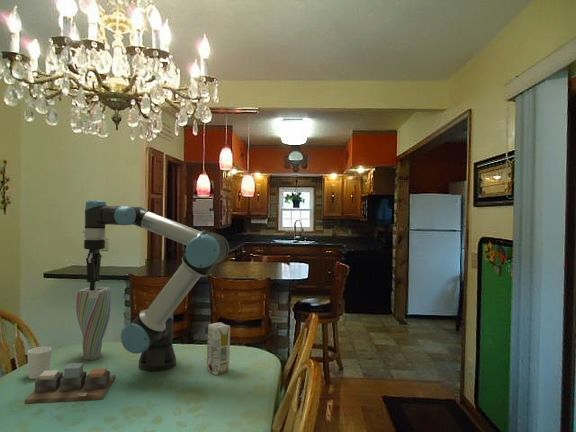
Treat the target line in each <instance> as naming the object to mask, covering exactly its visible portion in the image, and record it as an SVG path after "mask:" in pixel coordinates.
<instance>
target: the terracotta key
mask: <svg viewBox="0 0 576 432" xmlns="http://www.w3.org/2000/svg"><path fill="white" fill-rule="evenodd" d="M107 369H108V368H107V367H105V368H92V369H91V370H90V371H89V373H88V374H89V378H93V377H104V376H105V375H106V373H107V371H108V370H107Z"/></svg>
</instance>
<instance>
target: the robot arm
mask: <svg viewBox="0 0 576 432" xmlns="http://www.w3.org/2000/svg"><path fill="white" fill-rule="evenodd" d="M84 206H85V207H84V208H85V209H84V229H83V230H82V233H84V237H83V238H84V239H83V240H84V241H83V249H84V250H88V253H87V257H86V258H85V261H86V275H87V277H86V278H87V280H86V283H88V287H89V298H97V287H98V282H100V280H101V279H100V273H101V263H102V262H101V261H102V257H103V256H102V254H101V251H100V250H104V249H105V248H106V240H105V238H106V225H113V226H131V225H133V226H136V227H138V228H140V229H144V230H146V231H149V232H152V233H153V234H156V235H160V236H162V237H164V238H167V239H169V240H172V241H175V242H177V243H179V244H183V245H185V246H186V247H185V252H184V254H183V255H182V257H181V261H182V263H181V264H180V265H179V267H178V269H177V270H176V271H175V272H174V273H173V275H172V276H171V278H170V279H169V280H168V282H166V284H165V285H164V287H163V288H162V290H160V292H159V293H158V294H157V296H156V297H155V298H154V299H153V301H152V303H150V305H149V306H148V308H147V309H142V310H140V312H139V313H138V314H137V316H136V317H135V318H134V320H133V321H132V322H131V323H128V324H127V325H125V327H123V328H122V331H121V332H120V339H121V345H122V347H123V348H124V349H125V350H126V351H127V352H128V353H131V354H136V355H137V354H140V356H139V359H138V364H137V365H138V368H139V369H140V370H142V371H148V372H159V371H166V370H169V369H171V368H173V367H175V366H176V364H177V357H176V353H175V351H174V347H173V338H174V337H173V335H174V334H173V333H174V332H173V331H174V319H175V318H174V311H176V309H177V308H178V307H179V305H180V304H181V303H182V301H183V300H184V299H185V298H186V296H187V295H188V294H189V292H190V291H191V290H192V288H193V287H194V286H195V285H196V283H197V282H198V281H199V280H200V278H201V277H207V275H208V274H210V272H211V270H212V269H213V268H214V266H215V265H216V264H219V263H221V262H223V261H224V260H226V258H227V257H228V255H229V252H230V245H229V242H228V240H227V239H226V238H225V237H224V236H222V235H221V234H218V233H213V232H210V231H208V230H202V231H200V230H198V229H195V228H193V227H191V226H190V227H189V226H188V225H185V224H183V223H180V222H178V221H174V220H172V219H170V218H167V217H165V216H161V215H159V214H156V213H154V212H151V211H148V209H146V208H145V207H141V206H129V205H107V202H106V201H105V200H93V199H92V200H86V201H85V205H84Z"/></svg>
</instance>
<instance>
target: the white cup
mask: <svg viewBox="0 0 576 432" xmlns="http://www.w3.org/2000/svg"><path fill="white" fill-rule="evenodd" d="M51 358H52V347H50V346H39V347H38V346H37V347H33V348H31V349H28V350H27V371H28V378H29V379H30V380H36V379H37V378H38V377H39V376H40V375H41V374H42V373H43V372H44V371H50V367H51V362H52V361H51V360H52V359H51Z"/></svg>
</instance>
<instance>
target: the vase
mask: <svg viewBox="0 0 576 432" xmlns="http://www.w3.org/2000/svg"><path fill="white" fill-rule="evenodd" d="M111 310H112V289H111V288H110V287H103V286H102V287H101V286H100V287H99V286H97V298H89V286H88V287H85V288H82V289H79V290H78V291H76V298H75V312H76V313H75V314H76V318H77V322H78V325H79V328H80V332H81V334H82V353H83V360H90V361H91V360H92V361H93V360H94V361H95V360H96V359H98V358H99V357H100V356H101V352H102V344H103V339H104V337H105V335H106V331H107V328H108V325H109V321H110V317H111Z"/></svg>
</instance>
